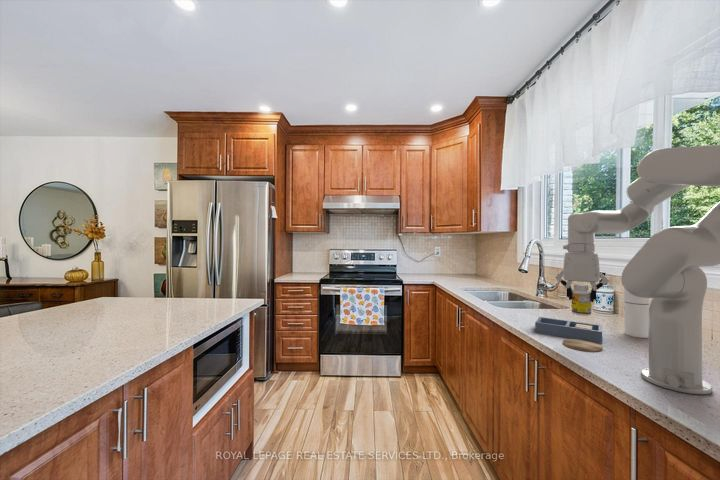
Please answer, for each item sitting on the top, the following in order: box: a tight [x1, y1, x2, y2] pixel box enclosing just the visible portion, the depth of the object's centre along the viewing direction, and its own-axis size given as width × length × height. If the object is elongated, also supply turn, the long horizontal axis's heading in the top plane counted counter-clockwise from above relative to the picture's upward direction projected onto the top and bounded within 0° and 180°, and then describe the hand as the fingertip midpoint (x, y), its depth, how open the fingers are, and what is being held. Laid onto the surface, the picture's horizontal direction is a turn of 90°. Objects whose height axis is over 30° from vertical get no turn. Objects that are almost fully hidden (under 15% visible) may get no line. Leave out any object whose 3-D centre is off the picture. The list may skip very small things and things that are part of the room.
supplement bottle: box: [571, 283, 592, 317], centre depth 105 cm, size 6×6×10 cm
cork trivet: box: [562, 338, 603, 353], centre depth 104 cm, size 11×11×1 cm
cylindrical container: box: [623, 287, 650, 339], centre depth 117 cm, size 7×7×25 cm
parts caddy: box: [534, 316, 603, 344], centre depth 118 cm, size 11×21×4 cm, turn 51°
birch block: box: [575, 324, 592, 330], centre depth 115 cm, size 5×5×4 cm
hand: (581, 299), depth 105 cm, fingers closed on supplement bottle, 5 cm apart
